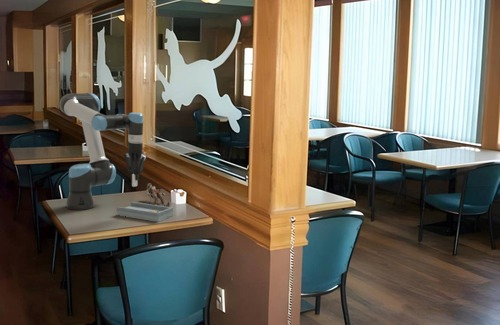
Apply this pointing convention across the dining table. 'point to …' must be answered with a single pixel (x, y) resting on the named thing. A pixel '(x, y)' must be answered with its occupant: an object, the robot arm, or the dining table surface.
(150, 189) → the figurine
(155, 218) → the tray
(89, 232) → the dining table surface
